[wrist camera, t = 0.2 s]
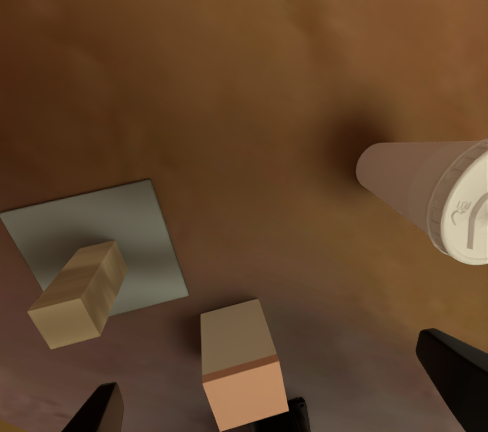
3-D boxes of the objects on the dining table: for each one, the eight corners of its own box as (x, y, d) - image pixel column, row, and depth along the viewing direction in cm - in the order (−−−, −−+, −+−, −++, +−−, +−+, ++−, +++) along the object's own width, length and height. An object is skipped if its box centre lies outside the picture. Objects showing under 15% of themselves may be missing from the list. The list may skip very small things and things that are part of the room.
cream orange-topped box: (267, 341, 26) (288, 410, 20) (214, 356, 26) (220, 431, 20) (258, 298, 24) (279, 361, 18) (200, 314, 24) (202, 383, 18)
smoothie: (323, 183, 22) (515, 295, 9) (373, 106, 20) (696, 103, 7) (381, 217, 24) (607, 349, 11) (430, 149, 22) (764, 208, 9)
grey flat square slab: (188, 293, 23) (186, 364, 17) (66, 325, 22) (14, 413, 16) (150, 178, 19) (127, 214, 13) (1, 212, 18) (-103, 268, 12)
